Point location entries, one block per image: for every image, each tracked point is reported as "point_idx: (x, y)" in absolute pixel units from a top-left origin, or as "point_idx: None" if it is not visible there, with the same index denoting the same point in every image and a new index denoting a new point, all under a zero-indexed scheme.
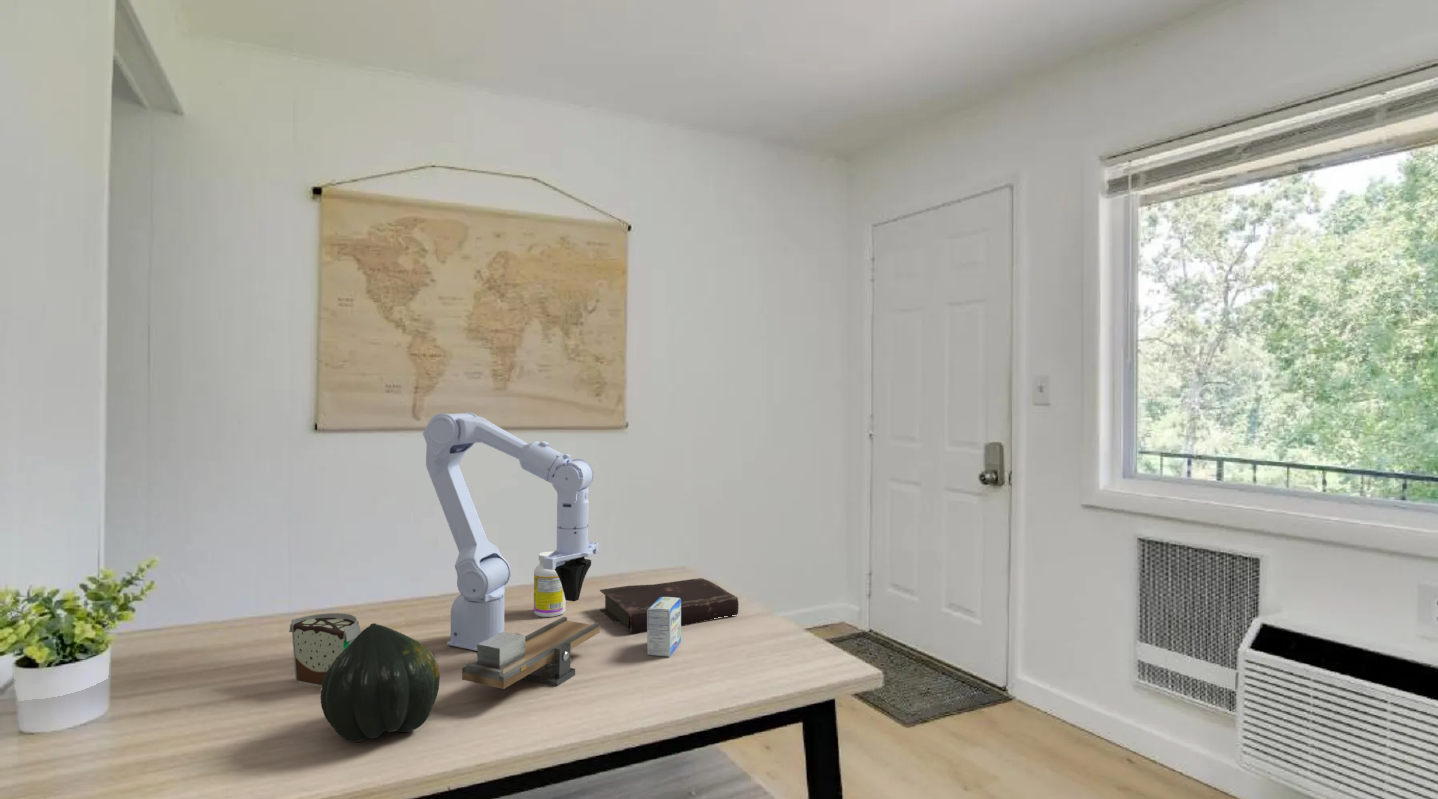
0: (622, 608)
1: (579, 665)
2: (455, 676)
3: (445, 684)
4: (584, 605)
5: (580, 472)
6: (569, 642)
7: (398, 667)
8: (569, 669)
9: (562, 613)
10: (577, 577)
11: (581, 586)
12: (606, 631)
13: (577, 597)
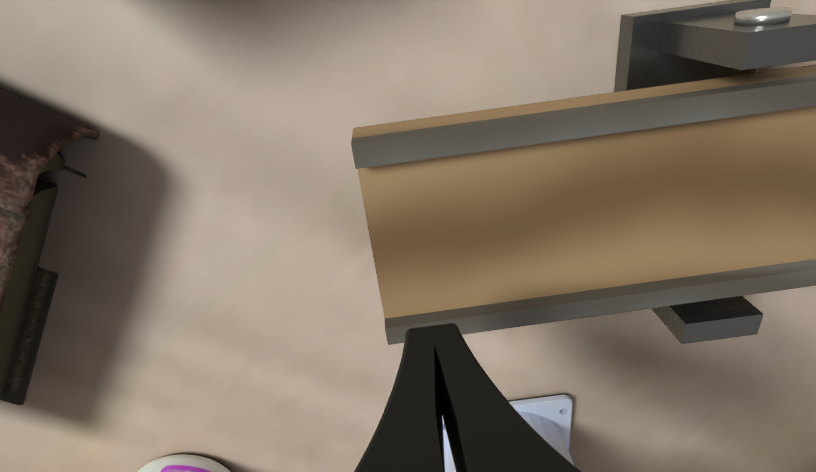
0: (13, 258)
1: (523, 74)
2: (744, 338)
3: (804, 319)
4: (42, 461)
5: None
6: (652, 97)
7: None
8: (669, 22)
9: (165, 456)
10: (520, 452)
11: (402, 386)
12: (160, 239)
13: (431, 334)
